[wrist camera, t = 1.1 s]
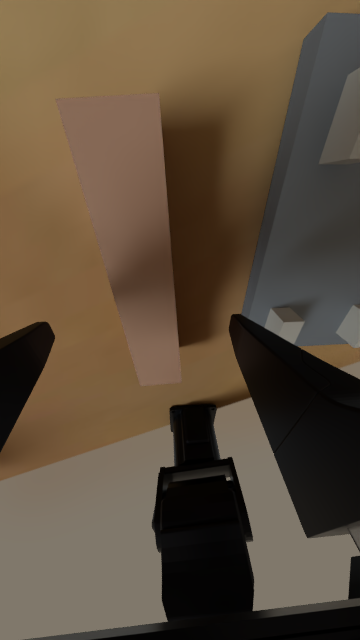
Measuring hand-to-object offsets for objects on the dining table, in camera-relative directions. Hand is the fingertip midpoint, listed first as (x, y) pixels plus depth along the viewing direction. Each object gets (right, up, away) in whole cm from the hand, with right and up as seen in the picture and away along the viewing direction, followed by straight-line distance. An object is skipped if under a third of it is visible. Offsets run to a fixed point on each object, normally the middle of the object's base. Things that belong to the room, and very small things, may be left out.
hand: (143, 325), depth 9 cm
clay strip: (0, +4, +5) cm, 7 cm away
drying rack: (+14, +6, +5) cm, 15 cm away
